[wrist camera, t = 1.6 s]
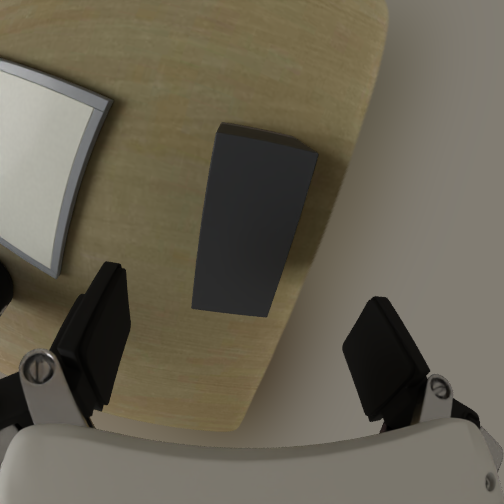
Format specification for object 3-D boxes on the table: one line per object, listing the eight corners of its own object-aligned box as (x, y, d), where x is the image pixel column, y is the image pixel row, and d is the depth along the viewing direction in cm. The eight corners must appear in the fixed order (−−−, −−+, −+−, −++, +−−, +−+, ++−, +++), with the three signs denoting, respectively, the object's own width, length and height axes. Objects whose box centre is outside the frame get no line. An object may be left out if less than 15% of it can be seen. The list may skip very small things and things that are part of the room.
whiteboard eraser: (221, 121, 15) (216, 132, 11) (293, 136, 16) (319, 153, 11) (199, 258, 20) (191, 308, 16) (259, 266, 21) (266, 317, 17)
